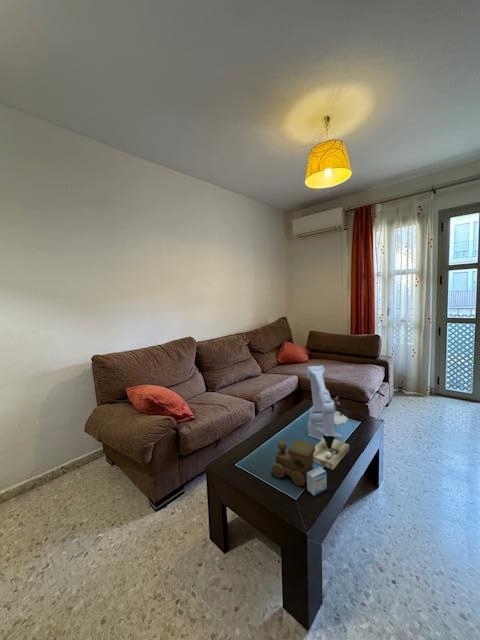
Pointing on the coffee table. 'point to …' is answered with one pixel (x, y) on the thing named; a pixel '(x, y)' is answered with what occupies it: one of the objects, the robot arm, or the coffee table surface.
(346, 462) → the coffee table surface
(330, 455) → the cream plastic ball
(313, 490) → the medicine box
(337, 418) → the figurine
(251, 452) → the coffee table surface
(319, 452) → the cream knobbed board
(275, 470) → the wooden toy train
